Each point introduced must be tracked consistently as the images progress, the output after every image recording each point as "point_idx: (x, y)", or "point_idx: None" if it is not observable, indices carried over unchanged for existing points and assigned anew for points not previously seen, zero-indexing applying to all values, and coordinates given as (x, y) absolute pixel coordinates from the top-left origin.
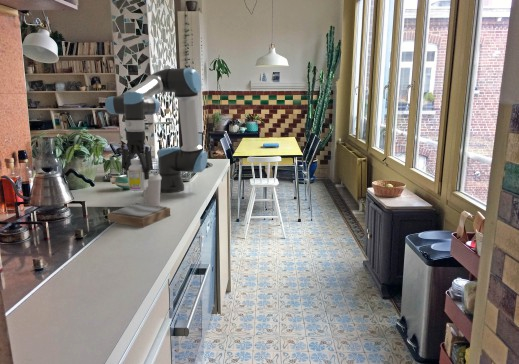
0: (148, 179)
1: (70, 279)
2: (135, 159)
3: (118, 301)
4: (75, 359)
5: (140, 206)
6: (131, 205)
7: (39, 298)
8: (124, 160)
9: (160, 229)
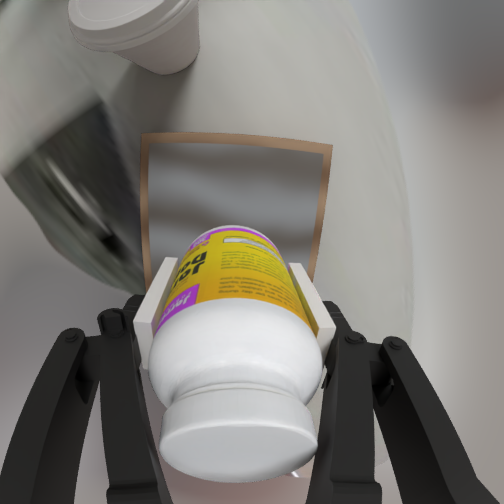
0: (141, 34)
1: None
2: (235, 467)
3: (375, 446)
4: None
5: (203, 186)
6: (154, 187)
7: (305, 468)
8: (84, 431)
9: (355, 290)
